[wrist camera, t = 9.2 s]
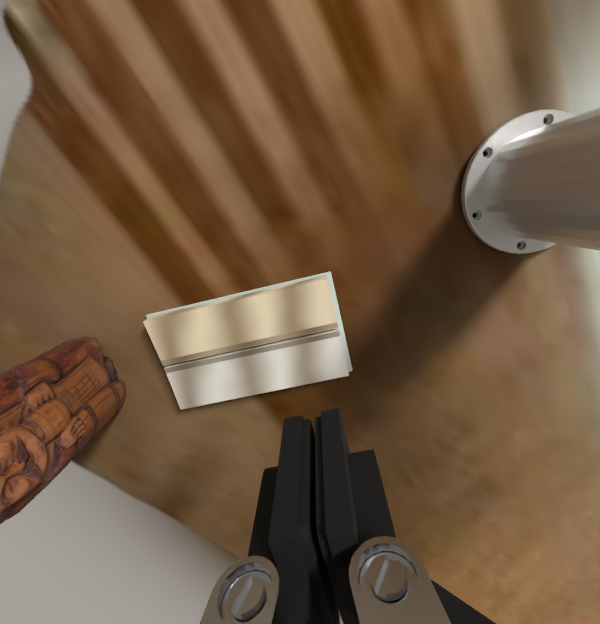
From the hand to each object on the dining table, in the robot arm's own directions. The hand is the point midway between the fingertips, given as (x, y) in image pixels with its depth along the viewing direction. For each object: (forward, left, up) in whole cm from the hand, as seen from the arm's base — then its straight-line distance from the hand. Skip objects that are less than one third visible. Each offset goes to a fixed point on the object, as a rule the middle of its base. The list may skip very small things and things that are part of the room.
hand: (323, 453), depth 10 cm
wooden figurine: (+29, -1, -27) cm, 40 cm away
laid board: (+11, +6, -27) cm, 30 cm away
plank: (+9, 0, -27) cm, 28 cm away
